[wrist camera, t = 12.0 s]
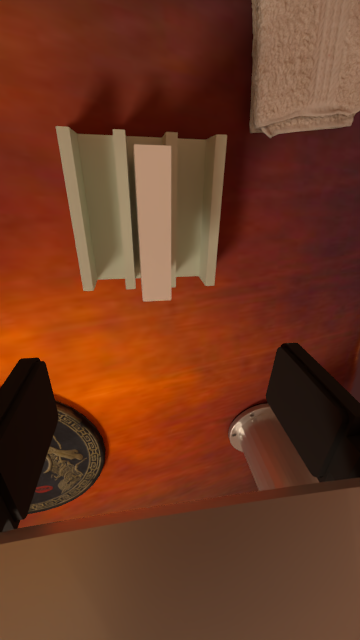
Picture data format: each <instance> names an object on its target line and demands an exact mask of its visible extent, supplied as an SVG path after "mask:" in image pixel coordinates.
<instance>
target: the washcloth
mask: <svg viewBox="0 0 360 640" xmlns="http://www.w3.org/2000/svg"><path fill="white" fill-rule="evenodd" d="M252 9H253V12H252V17H253V24H252V26H253V35H254V36H253V50H252V57H253V68H252V78H251V79H252V85H251V109H250V122H249V127H250V133H259V132H264V133H265V134H266V135H267V136H268V137H270V138H271V137H272V136H273V137H274V136H275V135H277V134H282V133H290V132H298V131H309V130H319V129H332V128H340V127H345V126H351V124H352V122H353V117H354V116H355V113H357V112H359V111H360V0H252Z"/></svg>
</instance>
